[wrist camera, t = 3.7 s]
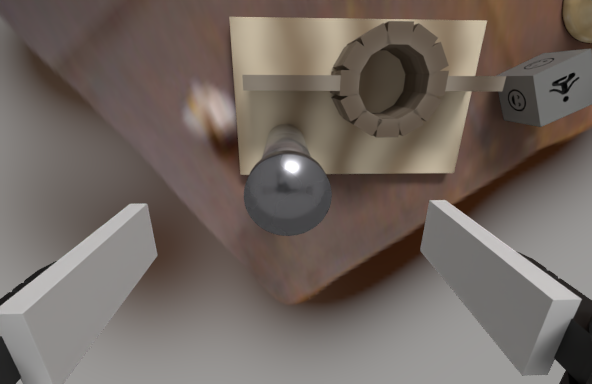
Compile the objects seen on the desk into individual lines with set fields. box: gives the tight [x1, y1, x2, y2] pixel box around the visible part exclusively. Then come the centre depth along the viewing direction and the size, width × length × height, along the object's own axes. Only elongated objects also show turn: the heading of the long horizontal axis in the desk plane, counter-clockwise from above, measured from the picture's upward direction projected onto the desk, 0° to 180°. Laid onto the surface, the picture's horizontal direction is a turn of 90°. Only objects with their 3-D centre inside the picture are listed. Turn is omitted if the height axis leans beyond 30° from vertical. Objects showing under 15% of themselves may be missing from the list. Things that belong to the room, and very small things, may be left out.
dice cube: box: [497, 49, 592, 127], centre depth 28 cm, size 5×5×5 cm
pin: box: [244, 124, 332, 236], centre depth 23 cm, size 5×5×15 cm
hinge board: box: [229, 17, 506, 175], centre depth 27 cm, size 24×15×6 cm, turn 90°
